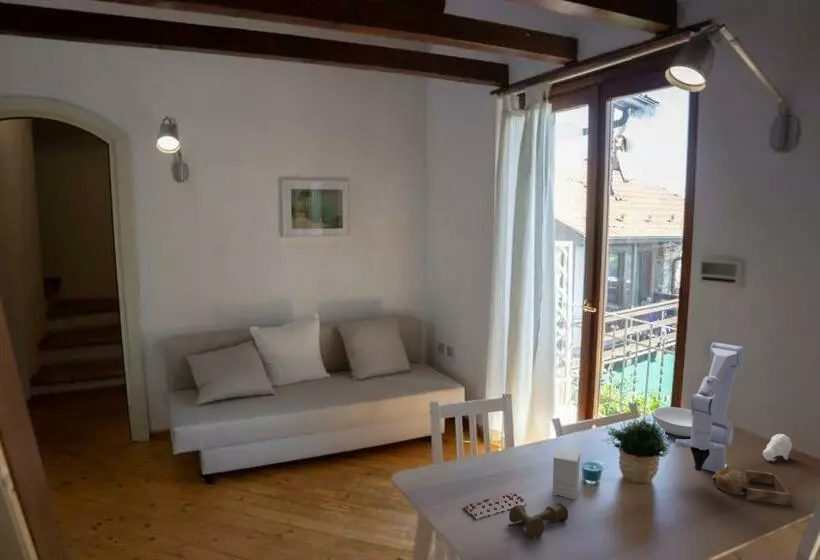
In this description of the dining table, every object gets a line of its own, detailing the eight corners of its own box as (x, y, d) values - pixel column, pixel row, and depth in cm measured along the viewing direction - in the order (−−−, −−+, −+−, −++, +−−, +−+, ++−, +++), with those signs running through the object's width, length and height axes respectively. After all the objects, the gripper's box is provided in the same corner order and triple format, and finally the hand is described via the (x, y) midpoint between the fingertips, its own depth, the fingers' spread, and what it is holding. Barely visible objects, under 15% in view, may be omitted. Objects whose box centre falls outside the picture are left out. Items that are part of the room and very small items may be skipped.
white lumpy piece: (794, 435, 203) (775, 445, 197) (793, 457, 204) (774, 467, 199) (776, 429, 208) (757, 438, 203) (775, 450, 210) (756, 460, 204)
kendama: (574, 529, 159) (517, 545, 150) (552, 513, 167) (497, 527, 159) (575, 508, 158) (518, 523, 149) (553, 494, 167) (498, 507, 158)
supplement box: (579, 489, 180) (581, 452, 178) (575, 500, 173) (577, 461, 172) (555, 484, 183) (557, 448, 181) (551, 495, 176) (553, 457, 175)
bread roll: (729, 506, 178) (741, 489, 174) (703, 480, 185) (715, 464, 181) (748, 498, 182) (760, 482, 178) (722, 474, 190) (733, 458, 186)
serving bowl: (659, 440, 219) (660, 423, 218) (646, 420, 239) (647, 405, 238) (716, 444, 215) (717, 427, 215) (697, 424, 236) (699, 408, 235)
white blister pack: (527, 505, 171) (528, 499, 170) (476, 521, 162) (476, 515, 162) (513, 495, 177) (513, 489, 177) (462, 509, 168) (463, 503, 168)
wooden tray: (747, 499, 174) (748, 489, 174) (734, 478, 188) (735, 468, 188) (790, 505, 171) (791, 495, 171) (774, 483, 185) (775, 473, 185)
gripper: (679, 432, 181) (676, 471, 183) (729, 437, 177) (725, 478, 179) (675, 424, 188) (672, 462, 189) (723, 429, 184) (720, 468, 185)
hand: (697, 469), depth 184 cm, fingers closed
